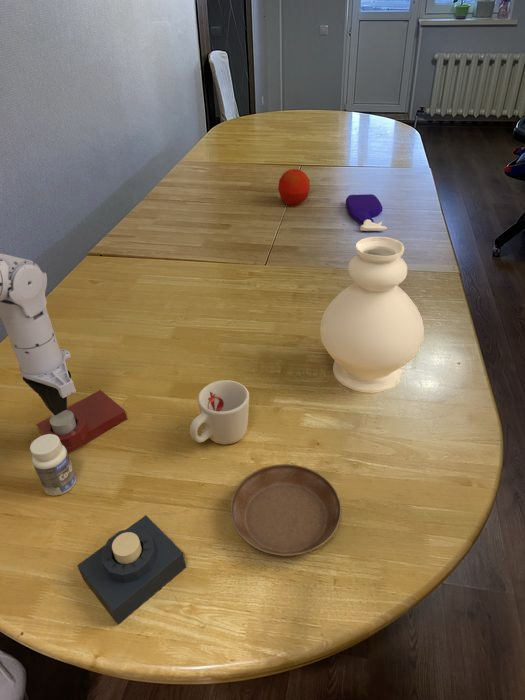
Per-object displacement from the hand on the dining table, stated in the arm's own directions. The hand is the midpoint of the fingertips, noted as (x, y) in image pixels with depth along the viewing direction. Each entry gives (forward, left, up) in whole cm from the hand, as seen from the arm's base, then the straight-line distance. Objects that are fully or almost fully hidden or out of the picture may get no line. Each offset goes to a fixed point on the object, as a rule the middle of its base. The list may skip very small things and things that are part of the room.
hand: (59, 410), depth 80 cm
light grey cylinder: (0, 0, -3) cm, 3 cm away
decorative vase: (+47, -24, -7) cm, 54 cm away
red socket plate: (+3, +2, -7) cm, 8 cm away
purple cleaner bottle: (+109, +21, -7) cm, 112 cm away
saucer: (+13, -35, -7) cm, 38 cm away
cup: (+17, -17, -7) cm, 25 cm away
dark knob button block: (-6, -27, -7) cm, 28 cm away
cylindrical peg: (-5, -27, -3) cm, 28 cm away
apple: (+104, +46, -7) cm, 114 cm away
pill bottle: (-5, -7, -7) cm, 11 cm away
